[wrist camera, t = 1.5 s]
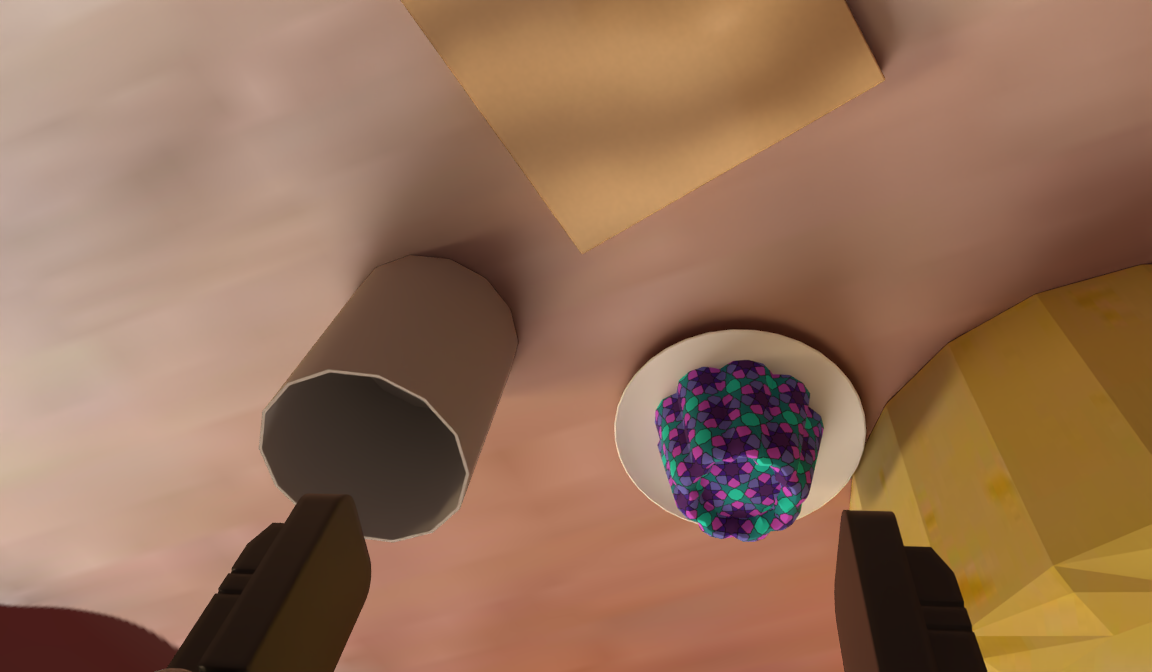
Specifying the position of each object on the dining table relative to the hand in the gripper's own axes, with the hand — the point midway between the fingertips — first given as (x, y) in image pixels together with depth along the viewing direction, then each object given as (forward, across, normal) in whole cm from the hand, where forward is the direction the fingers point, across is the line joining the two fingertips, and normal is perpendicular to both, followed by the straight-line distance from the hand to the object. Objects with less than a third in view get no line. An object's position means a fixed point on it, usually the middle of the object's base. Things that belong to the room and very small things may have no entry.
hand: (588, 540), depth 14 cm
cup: (+25, +11, +10) cm, 29 cm away
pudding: (+25, -3, +16) cm, 29 cm away
